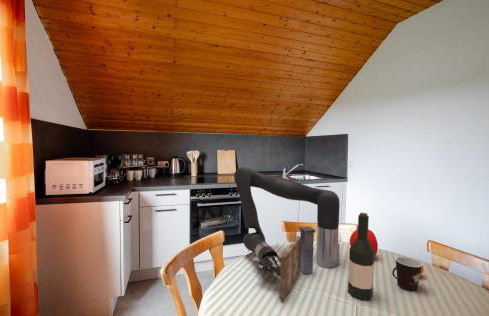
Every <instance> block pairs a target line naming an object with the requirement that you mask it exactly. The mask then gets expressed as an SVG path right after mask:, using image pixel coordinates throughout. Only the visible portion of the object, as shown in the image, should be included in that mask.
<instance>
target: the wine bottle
mask: <svg viewBox="0 0 489 316" xmlns="http://www.w3.org/2000/svg"><path fill="white" fill-rule="evenodd" d="M369 217H370V216H369V215H368V213H366V212H360V213H359V214H358V218H357V229H358V236H357V239H356V240H355V242H354V243H353V244H352V246H350V247H349V254H348V255H349V257H348V259H349V260H348V279H347V281H348V282H347V283H348V284H347V293H348V294H349V295H350V297H352V298H353V299H356V300H359V301H363V302H364V301H365V302H366V301H368V302H369V301H371V300H372V298H373V297H374V296H373V294H374V277H375V275H374V274H375V272H374V271H375V256H376V255H375V251H374V249H373V247H372V246H371V244H370V242H369V240H368V229H369Z"/></svg>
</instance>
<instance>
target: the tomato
mask: <svg viewBox="0 0 489 316" xmlns="http://www.w3.org/2000/svg"><path fill="white" fill-rule="evenodd" d="M357 236H358V228H357V229H356V230H355V229H354V231H353V232H352V233H351V235H350V237H349V245H350V247H351V246H352V244H353V243H354V242H355V240H356V239H357ZM368 240H369V242H370V244H371V246H372V247H373V249H374V251H375V256H376V255H377V254H378V249H379V244H378V240H377V237H376V235H375V233H374V231H373V230H371V229H369V228H368Z"/></svg>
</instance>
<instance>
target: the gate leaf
mask: <svg viewBox="0 0 489 316" xmlns="http://www.w3.org/2000/svg"><path fill="white" fill-rule="evenodd" d="M280 258H281V268H280V277H279V279H280V280H279V300H283V301H284V300H285V299H286V298H287V295H288V294H289V292H290V290H291V289H292V287H293V285H294V284H295V282H296V281H297V278H298V277H299V274H300V273H301V272H300V258H301V237H300V236H296V237H295V238H294V240H293V241H292V242H291V243H290V245H288V247H287V248H286V250H284V251H283V253H282V254H281V255H280Z"/></svg>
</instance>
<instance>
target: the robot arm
mask: <svg viewBox="0 0 489 316" xmlns="http://www.w3.org/2000/svg"><path fill="white" fill-rule="evenodd" d="M233 179H234V182H235V184H236V187H237V191H238V195H239V199H240V205H241V208H242V217H243V224H244V226H245V227H244V228H246V229H254V232H250V233H246V234H245V235H244V236H243V239H242V240H243V244H244V247H245V248H246V249H247V250H248V251H250V252H252V253H254V254H255V257H256V258H257V259H258V261H259V262H258V269H259V270H260V271H262V272H263V271H264V272H266V273H269V274H272V273H274V274H276V275H277V276H278V277H279V278H280V268H281V256H279V255H278V253H277V252H276V250H275V249H274V248H273V247H272V246H271V245H270V244H268V243H267V242H266V237H265V234H264V232H263V230H262V227H261V226H260V221H259V217H258V216H259V215H258V211H257V206H256V203H255V201H254V198H253V195H252V189H251V188H252V187H253V188H258V189H262V190H264V191H266V192H267V193H269V194H272V195H274V196H275V197H280V198H283V199H287V200H290V201H300V202H306V203H307V202H308V203H310V204H313V205H317V208H316V209H317V210H316V213H317V214H316V215H317V216H316V218H317V219H316V221H317V223H316V224H317V225H316V228H317V229H316V255H315V256H316V257H315V259H316V260H315V262H316V264H317V265H318V266H319V267H323V268H329V269H333V268H336V267H337V266H339V265H340V250H341V246H340V245H341V244H340V243H339V225H340V205H341V203H340V197H339V196H338V194H337V193H336V192H335V191H332V190H330V189H329V190H328V189H322V188H317V187H312V186H309V185H306V184H303V183H301V182H298V181H295V180H291V179H287V178H284V177H280V176H273V175H267V174H263V173H261V172H259V171H257V170H256V171H255V170H253V169H251V168H250V167H249V168H248V167H244V166H241V167H239V168H237V169H236V170H235V171H234V174H233Z"/></svg>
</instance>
